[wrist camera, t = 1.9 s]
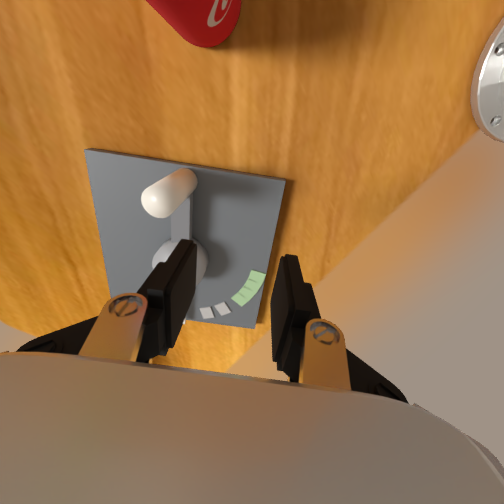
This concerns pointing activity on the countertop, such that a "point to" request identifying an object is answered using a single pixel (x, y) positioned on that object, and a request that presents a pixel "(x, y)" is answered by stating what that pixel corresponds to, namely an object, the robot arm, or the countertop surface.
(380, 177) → the countertop surface
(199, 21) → the beverage can
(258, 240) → the board
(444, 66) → the countertop surface
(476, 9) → the countertop surface
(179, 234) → the peg dial
